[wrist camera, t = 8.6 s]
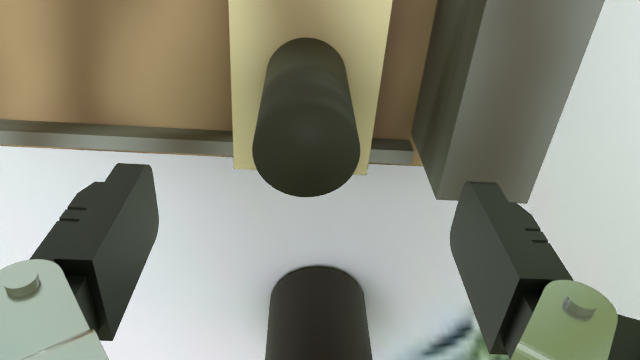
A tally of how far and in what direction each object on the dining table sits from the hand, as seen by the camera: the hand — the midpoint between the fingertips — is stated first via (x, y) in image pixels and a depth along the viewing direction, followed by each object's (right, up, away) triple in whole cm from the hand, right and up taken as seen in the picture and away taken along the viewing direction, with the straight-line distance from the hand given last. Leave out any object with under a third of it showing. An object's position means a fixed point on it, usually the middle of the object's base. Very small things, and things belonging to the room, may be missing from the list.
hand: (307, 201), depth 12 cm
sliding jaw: (0, +7, +10) cm, 12 cm away
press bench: (-2, +8, +11) cm, 14 cm away
